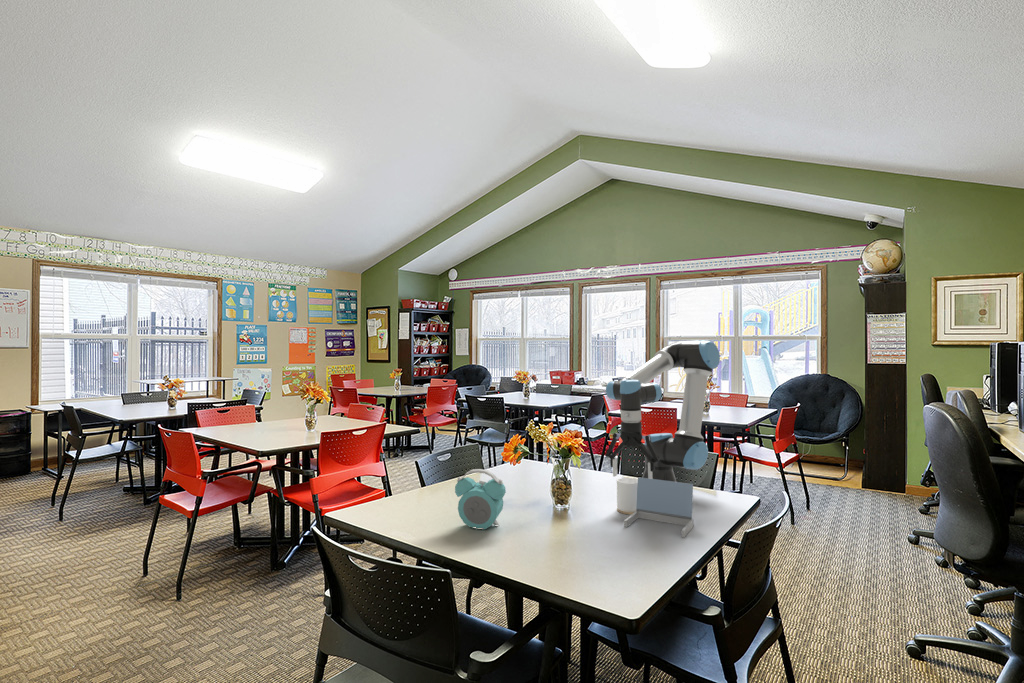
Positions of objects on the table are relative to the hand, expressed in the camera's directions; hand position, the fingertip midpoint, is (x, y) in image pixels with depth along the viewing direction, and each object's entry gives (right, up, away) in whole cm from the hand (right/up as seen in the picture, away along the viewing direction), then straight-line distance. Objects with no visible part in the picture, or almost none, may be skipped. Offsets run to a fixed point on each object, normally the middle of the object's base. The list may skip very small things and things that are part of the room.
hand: (632, 477), depth 205 cm
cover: (+8, -4, -14) cm, 16 cm away
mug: (0, -12, 0) cm, 12 cm away
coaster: (0, -12, 0) cm, 12 cm away
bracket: (+5, -12, -19) cm, 23 cm away
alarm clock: (-56, -12, -18) cm, 60 cm away
